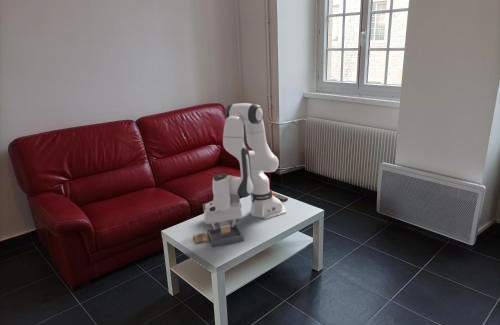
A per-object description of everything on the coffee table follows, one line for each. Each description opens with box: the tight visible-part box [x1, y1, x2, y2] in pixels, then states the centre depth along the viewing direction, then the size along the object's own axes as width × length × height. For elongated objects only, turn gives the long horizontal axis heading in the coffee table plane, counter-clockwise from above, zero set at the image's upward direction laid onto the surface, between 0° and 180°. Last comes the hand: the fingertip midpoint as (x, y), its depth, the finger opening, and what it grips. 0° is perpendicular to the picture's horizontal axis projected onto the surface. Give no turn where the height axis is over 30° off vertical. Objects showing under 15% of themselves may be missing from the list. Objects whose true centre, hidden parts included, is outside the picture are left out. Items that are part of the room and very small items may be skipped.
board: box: [193, 231, 210, 245], centre depth 198 cm, size 7×9×1 cm
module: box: [218, 221, 231, 239], centre depth 196 cm, size 5×6×8 cm
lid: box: [202, 199, 237, 230], centre depth 204 cm, size 17×14×1 cm
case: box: [206, 224, 245, 248], centre depth 197 cm, size 17×14×3 cm
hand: (223, 227), depth 195 cm, fingers open, 8 cm apart
